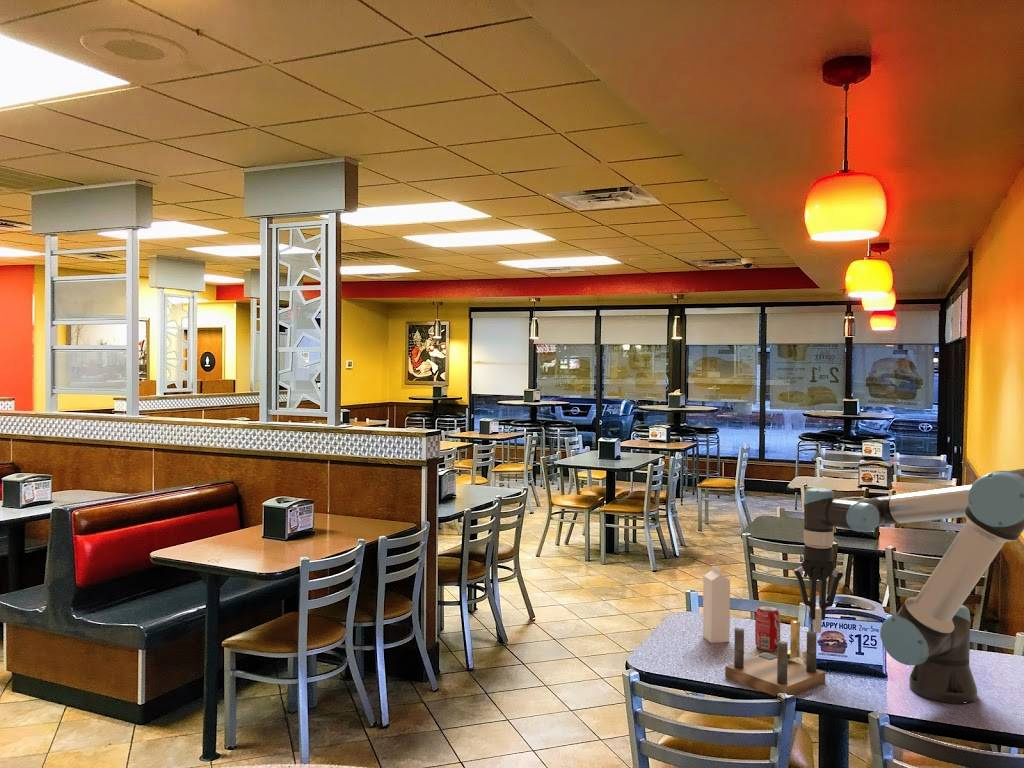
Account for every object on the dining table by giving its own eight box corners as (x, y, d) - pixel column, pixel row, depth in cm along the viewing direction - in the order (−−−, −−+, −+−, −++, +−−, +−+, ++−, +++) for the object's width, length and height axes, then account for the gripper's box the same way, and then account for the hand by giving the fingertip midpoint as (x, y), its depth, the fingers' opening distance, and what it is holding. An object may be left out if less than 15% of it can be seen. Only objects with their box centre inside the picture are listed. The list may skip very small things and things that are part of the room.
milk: (711, 643, 235) (711, 570, 234) (702, 636, 241) (702, 565, 240) (730, 642, 236) (730, 569, 236) (720, 635, 242) (721, 564, 242)
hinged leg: (790, 660, 211) (790, 625, 211) (782, 657, 213) (783, 623, 213) (801, 656, 214) (801, 622, 214) (793, 653, 216) (793, 619, 216)
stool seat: (825, 683, 204) (825, 633, 204) (785, 699, 193) (785, 647, 193) (765, 663, 218) (766, 616, 218) (725, 677, 208) (725, 628, 207)
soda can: (776, 644, 234) (777, 604, 234) (782, 652, 227) (783, 611, 227) (752, 643, 235) (753, 603, 234) (757, 651, 228) (758, 610, 227)
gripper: (839, 543, 217) (838, 628, 217) (790, 541, 218) (789, 625, 219) (847, 549, 209) (846, 637, 209) (796, 547, 211) (795, 634, 211)
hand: (817, 631), depth 214 cm, fingers closed
